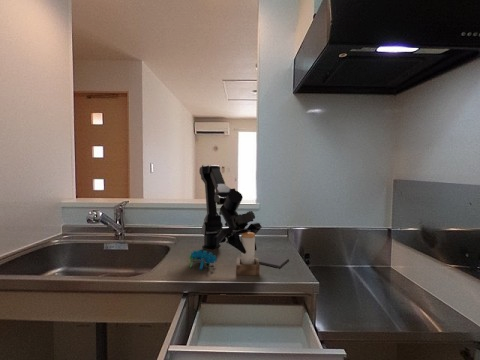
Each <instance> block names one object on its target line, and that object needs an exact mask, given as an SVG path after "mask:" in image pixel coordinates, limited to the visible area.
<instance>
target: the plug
mask: <svg viewBox="0 0 480 360" xmlns="http://www.w3.org/2000/svg"><path fill="white" fill-rule="evenodd" d="M240 235H241V237H240V240H241V242H242V244H243V246H244V248H245V251H246V253H245V254H243V253H242V252H241V251H240V258H241V264H250V265H254V264H255V258H256V256H255V255H256V254H255V243H256V234H255V233H253V232H243V233H241V234H240Z"/></svg>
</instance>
